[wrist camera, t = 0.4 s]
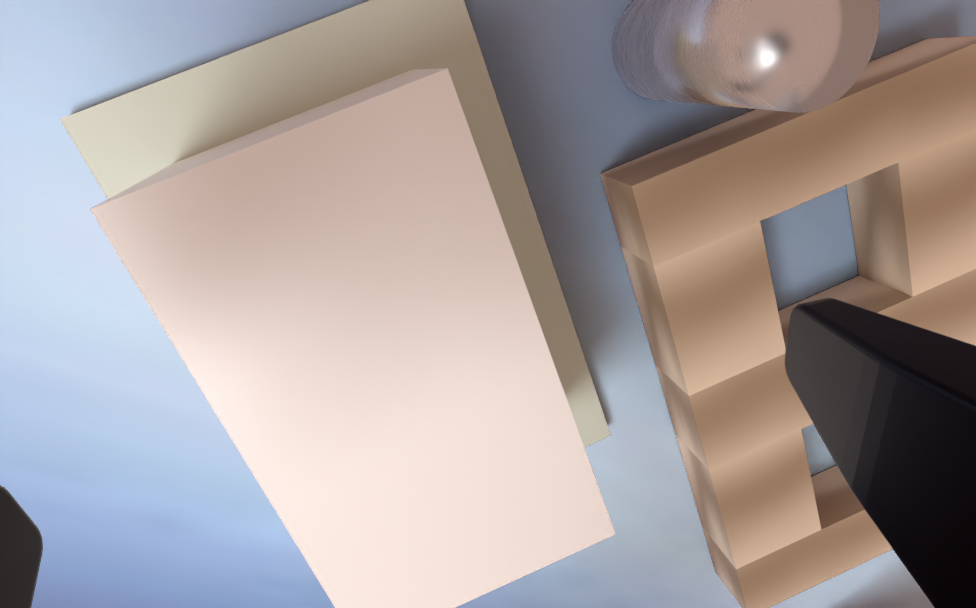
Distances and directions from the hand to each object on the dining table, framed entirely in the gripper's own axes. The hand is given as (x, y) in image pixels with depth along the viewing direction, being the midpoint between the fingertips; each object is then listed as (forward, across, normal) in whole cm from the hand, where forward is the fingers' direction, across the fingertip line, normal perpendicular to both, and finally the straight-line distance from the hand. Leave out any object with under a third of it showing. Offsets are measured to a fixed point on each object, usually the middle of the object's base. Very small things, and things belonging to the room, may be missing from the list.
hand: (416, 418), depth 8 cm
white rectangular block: (+12, +1, +6) cm, 13 cm away
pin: (+14, -9, 0) cm, 17 cm away
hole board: (+13, -14, +11) cm, 22 cm away
